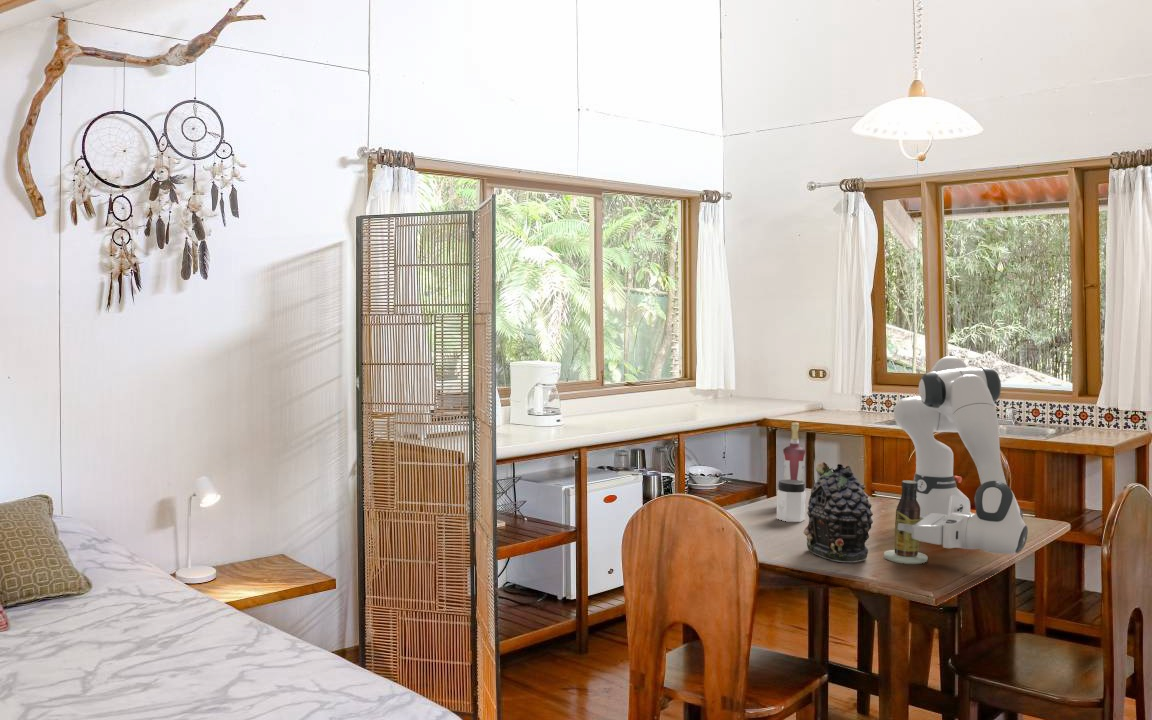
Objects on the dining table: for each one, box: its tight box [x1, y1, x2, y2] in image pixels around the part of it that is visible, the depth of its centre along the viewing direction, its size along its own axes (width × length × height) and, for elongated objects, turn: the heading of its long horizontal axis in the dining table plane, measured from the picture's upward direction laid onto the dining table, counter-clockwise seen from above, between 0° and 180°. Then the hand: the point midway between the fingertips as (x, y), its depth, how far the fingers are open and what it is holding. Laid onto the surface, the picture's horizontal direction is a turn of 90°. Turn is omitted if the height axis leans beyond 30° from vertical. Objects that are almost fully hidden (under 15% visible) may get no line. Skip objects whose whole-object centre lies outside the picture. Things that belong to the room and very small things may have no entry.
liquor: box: [782, 422, 806, 482], centre depth 323 cm, size 7×7×28 cm
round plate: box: [883, 549, 928, 565], centre depth 256 cm, size 11×11×1 cm
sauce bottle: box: [893, 479, 920, 557], centre depth 255 cm, size 7×6×20 cm
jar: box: [776, 479, 807, 523], centre depth 302 cm, size 9×8×12 cm
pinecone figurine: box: [802, 461, 874, 563], centre depth 257 cm, size 21×15×25 cm
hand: (903, 522), depth 256 cm, fingers open, 8 cm apart
